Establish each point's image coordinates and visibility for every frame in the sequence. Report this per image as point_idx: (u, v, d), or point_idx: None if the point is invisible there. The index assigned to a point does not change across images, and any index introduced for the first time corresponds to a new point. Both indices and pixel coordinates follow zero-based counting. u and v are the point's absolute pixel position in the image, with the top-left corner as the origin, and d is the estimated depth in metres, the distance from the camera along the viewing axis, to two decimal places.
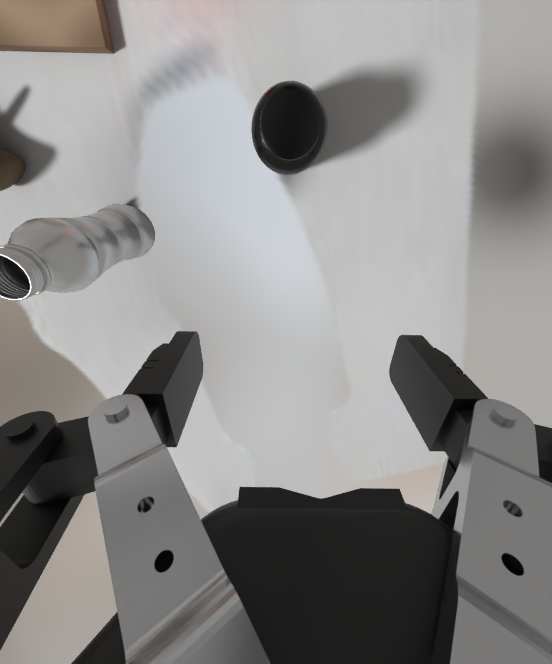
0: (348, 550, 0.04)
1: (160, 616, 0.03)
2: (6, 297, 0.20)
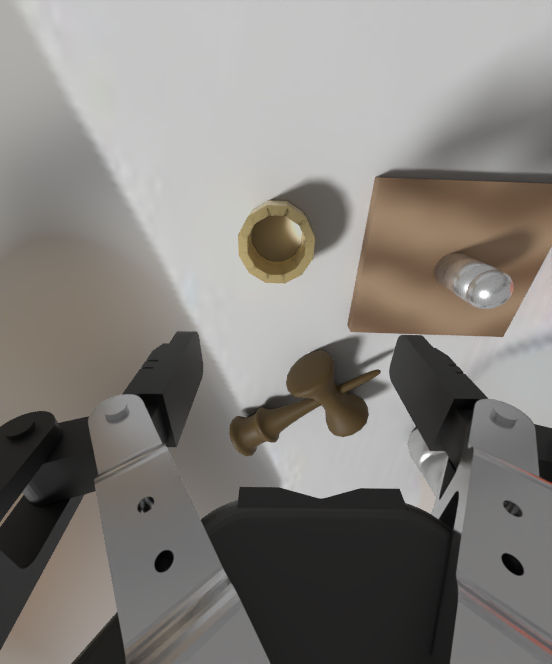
0: (348, 550, 0.04)
1: (160, 616, 0.03)
2: None
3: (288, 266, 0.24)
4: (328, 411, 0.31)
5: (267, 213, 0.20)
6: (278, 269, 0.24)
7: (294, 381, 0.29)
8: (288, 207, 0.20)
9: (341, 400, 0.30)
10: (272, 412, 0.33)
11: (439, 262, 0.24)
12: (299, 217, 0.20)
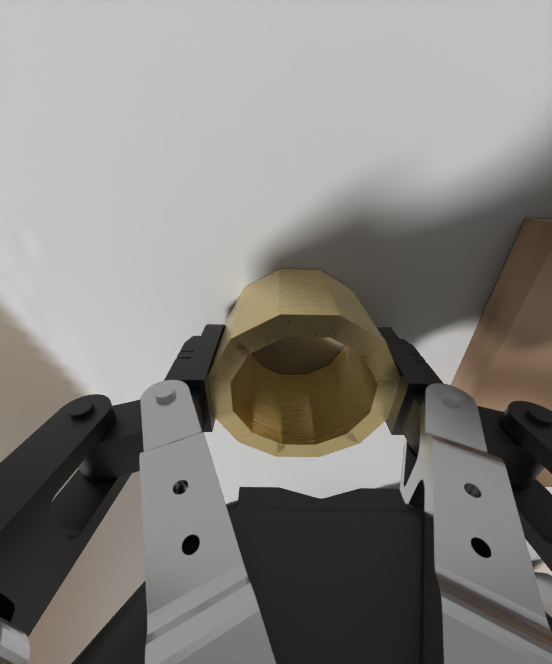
0: (348, 550, 0.04)
1: (182, 597, 0.03)
2: None
3: (324, 407, 0.11)
4: None
5: (281, 333, 0.07)
6: (302, 412, 0.11)
7: None
8: (339, 318, 0.07)
9: None
10: None
11: None
12: (367, 340, 0.08)
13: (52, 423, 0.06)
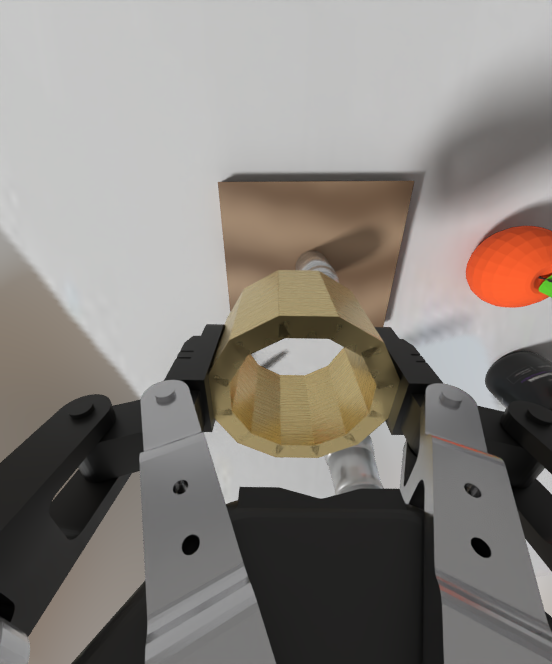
0: (348, 550, 0.04)
1: (182, 597, 0.03)
2: None
3: (323, 408, 0.11)
4: None
5: (280, 334, 0.08)
6: (301, 413, 0.11)
7: None
8: (338, 320, 0.07)
9: None
10: None
11: (297, 261, 0.25)
12: (365, 341, 0.08)
13: (52, 423, 0.06)
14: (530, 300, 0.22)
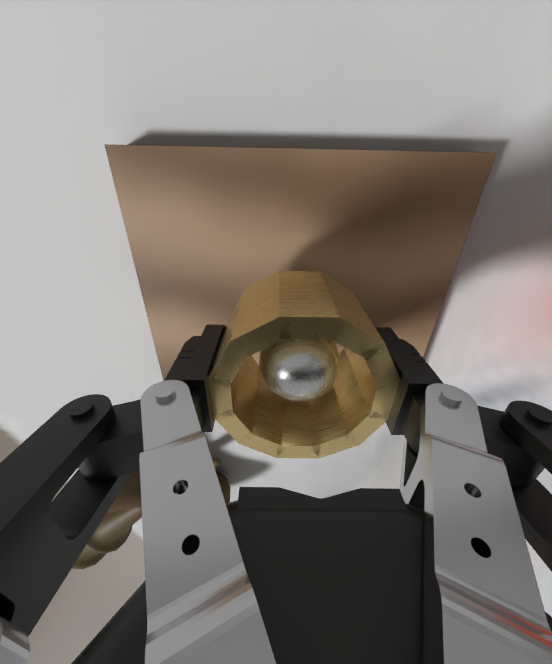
0: (348, 550, 0.04)
1: (182, 597, 0.03)
2: None
3: (324, 409, 0.11)
4: None
5: (281, 335, 0.08)
6: (301, 414, 0.11)
7: None
8: (339, 321, 0.07)
9: None
10: None
11: None
12: (366, 342, 0.08)
13: (52, 423, 0.06)
14: None
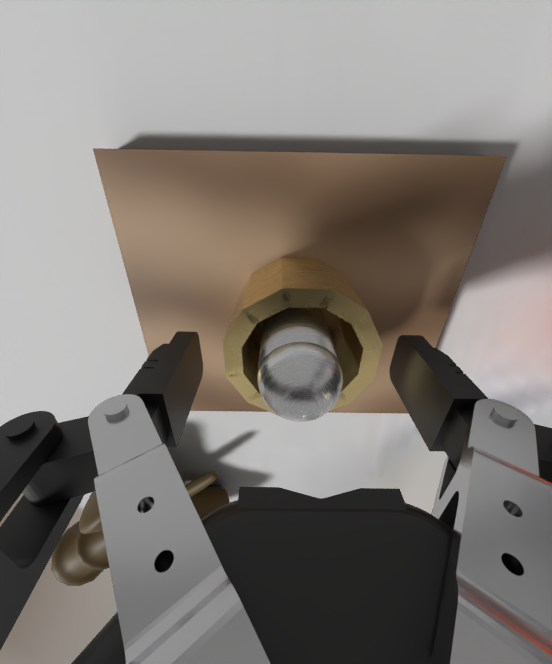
0: (348, 550, 0.04)
1: (160, 615, 0.03)
2: None
3: None
4: None
5: (284, 304, 0.09)
6: None
7: (89, 500, 0.19)
8: (330, 292, 0.09)
9: None
10: None
11: None
12: (353, 310, 0.09)
13: None
14: None
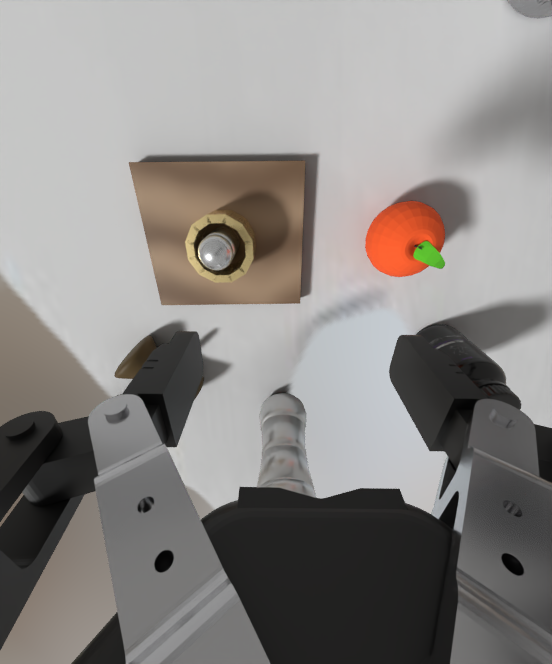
0: (348, 550, 0.04)
1: (160, 616, 0.03)
2: None
3: (236, 267, 0.27)
4: None
5: (207, 221, 0.23)
6: (227, 270, 0.27)
7: None
8: (225, 215, 0.23)
9: None
10: None
11: None
12: (236, 223, 0.23)
13: None
14: (410, 267, 0.25)
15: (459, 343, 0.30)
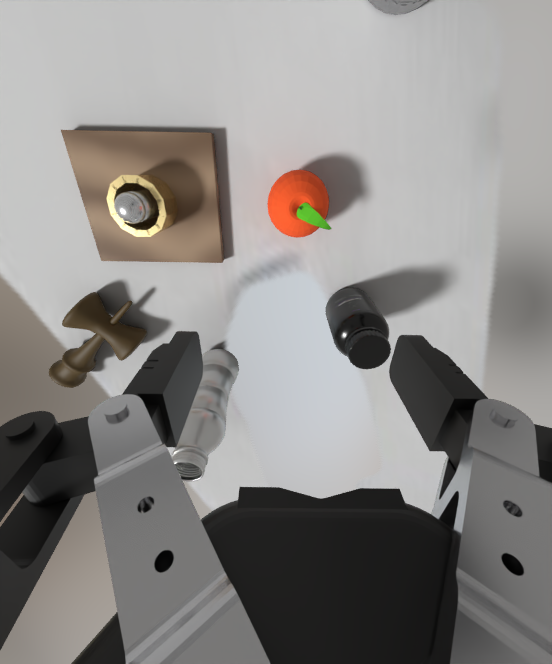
0: (348, 550, 0.04)
1: (160, 616, 0.03)
2: (183, 479, 0.29)
3: None
4: (105, 339, 0.39)
5: (123, 181, 0.28)
6: (149, 227, 0.31)
7: None
8: (137, 176, 0.28)
9: (112, 329, 0.39)
10: (76, 349, 0.42)
11: None
12: (147, 183, 0.28)
13: None
14: (297, 226, 0.29)
15: (357, 300, 0.35)
